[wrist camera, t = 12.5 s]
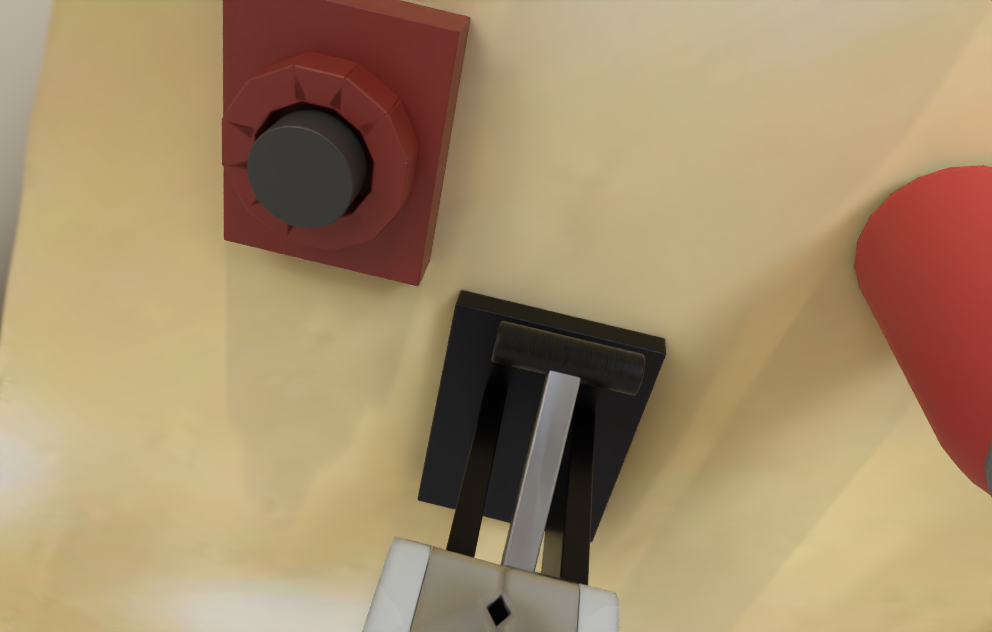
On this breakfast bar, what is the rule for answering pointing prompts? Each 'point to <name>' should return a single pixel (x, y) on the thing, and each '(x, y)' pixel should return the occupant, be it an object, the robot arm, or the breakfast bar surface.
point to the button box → (346, 120)
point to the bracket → (527, 431)
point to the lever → (554, 417)
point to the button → (307, 168)
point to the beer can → (939, 303)
